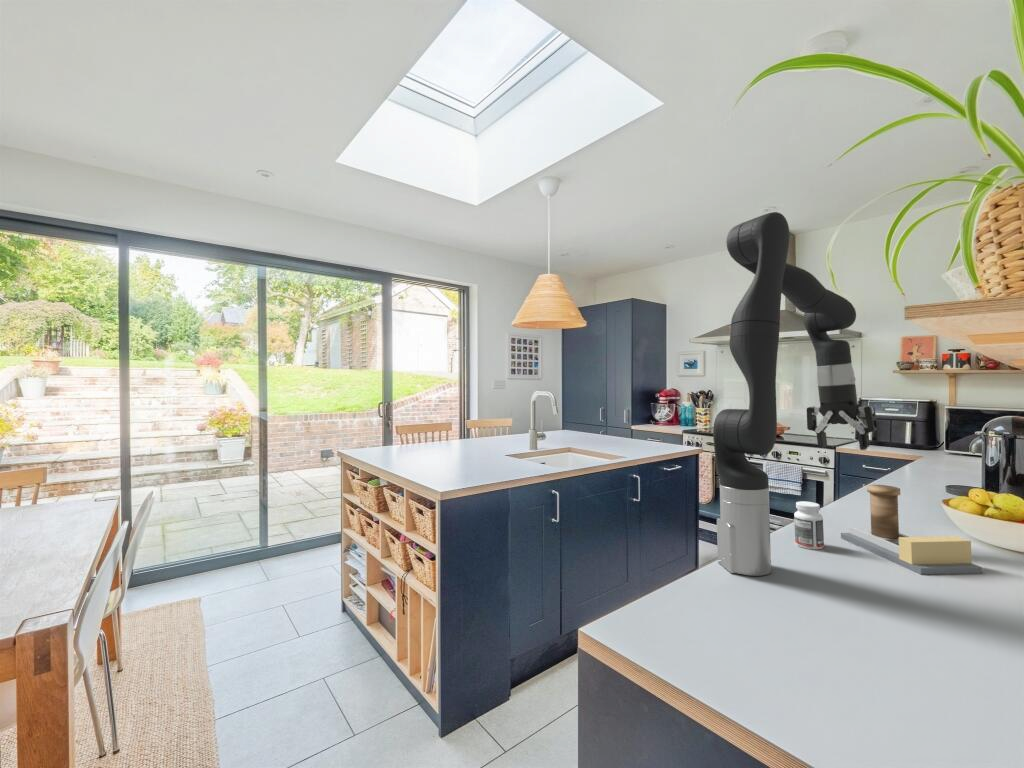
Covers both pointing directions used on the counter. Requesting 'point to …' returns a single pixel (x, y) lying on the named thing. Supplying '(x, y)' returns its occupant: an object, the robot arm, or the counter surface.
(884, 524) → the knob
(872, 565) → the counter surface
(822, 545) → the pill bottle
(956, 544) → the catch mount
